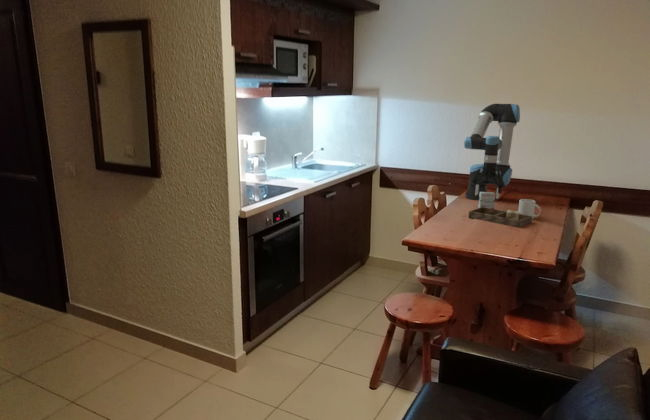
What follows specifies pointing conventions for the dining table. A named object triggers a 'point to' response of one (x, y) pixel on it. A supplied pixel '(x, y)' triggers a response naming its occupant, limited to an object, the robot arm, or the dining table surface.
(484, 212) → the storage box
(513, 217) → the beech block
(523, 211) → the mug
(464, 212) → the dining table surface
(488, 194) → the ink box
